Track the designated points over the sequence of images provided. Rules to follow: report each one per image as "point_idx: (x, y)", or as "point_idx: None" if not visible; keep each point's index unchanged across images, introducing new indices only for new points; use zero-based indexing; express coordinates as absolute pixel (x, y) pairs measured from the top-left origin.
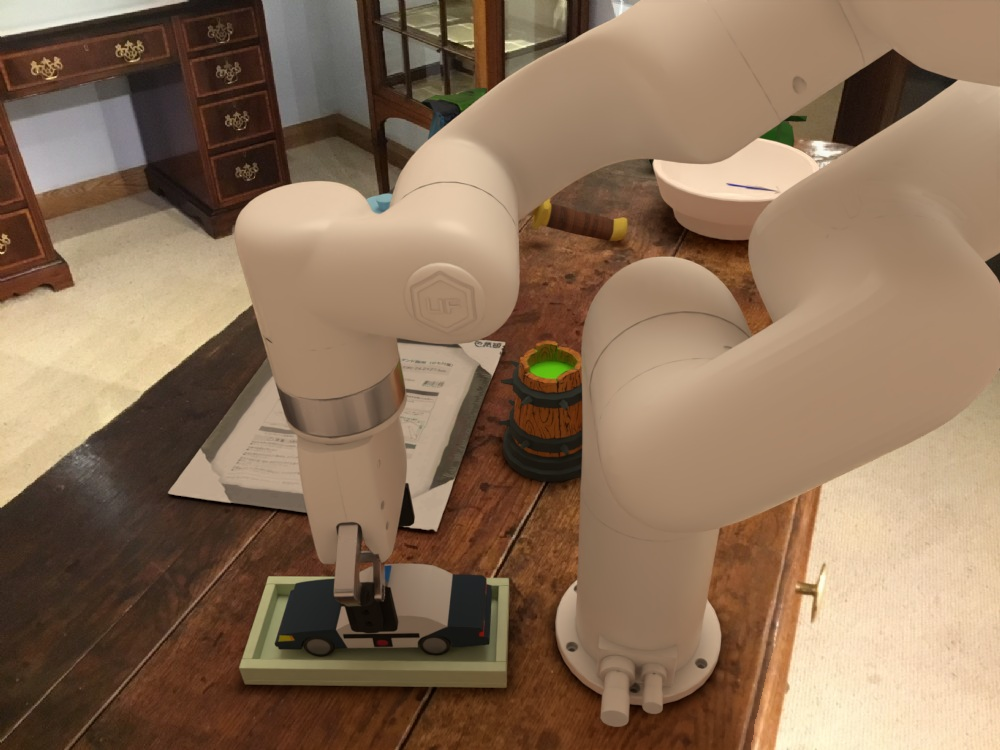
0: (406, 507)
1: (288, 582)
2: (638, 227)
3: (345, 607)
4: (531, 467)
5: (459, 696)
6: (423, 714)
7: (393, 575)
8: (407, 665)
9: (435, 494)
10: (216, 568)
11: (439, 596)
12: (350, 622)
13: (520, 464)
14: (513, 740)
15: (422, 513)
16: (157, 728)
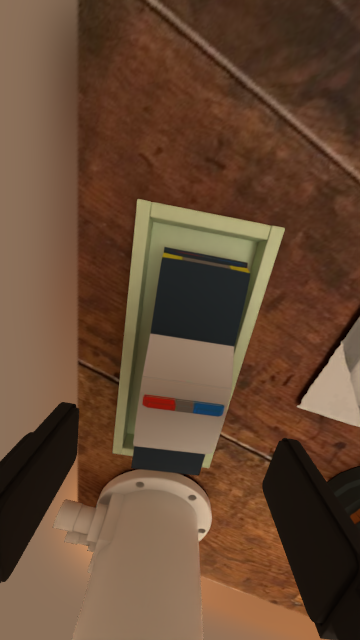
0: (284, 540)
1: (264, 258)
2: None
3: (12, 457)
4: (343, 491)
5: (115, 402)
6: (101, 376)
7: (203, 416)
8: (123, 384)
9: (349, 410)
10: (340, 141)
11: (169, 449)
12: (47, 418)
13: (352, 484)
14: (78, 430)
15: (327, 397)
16: (94, 93)
